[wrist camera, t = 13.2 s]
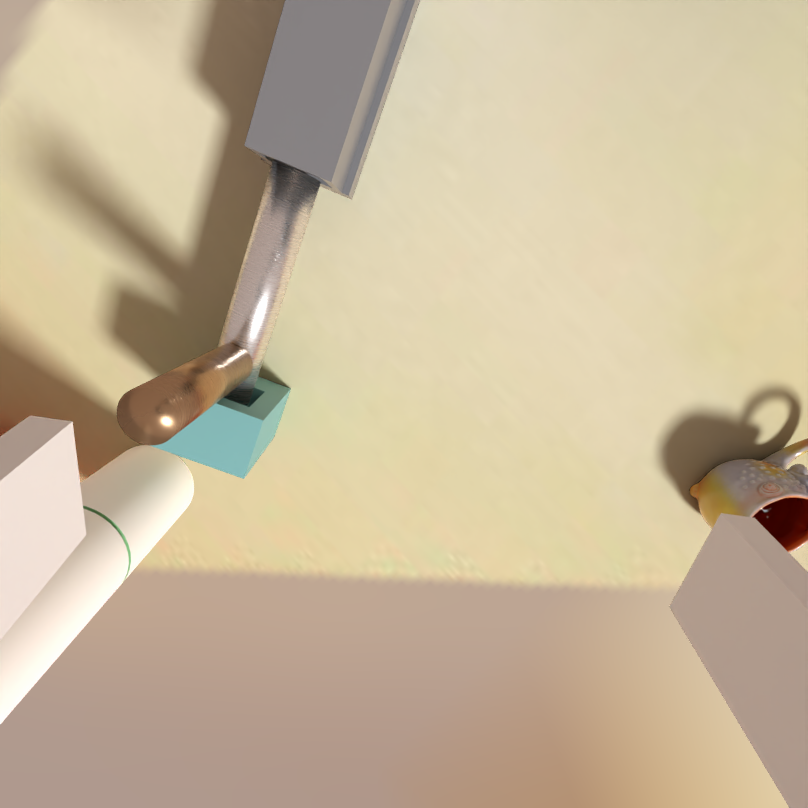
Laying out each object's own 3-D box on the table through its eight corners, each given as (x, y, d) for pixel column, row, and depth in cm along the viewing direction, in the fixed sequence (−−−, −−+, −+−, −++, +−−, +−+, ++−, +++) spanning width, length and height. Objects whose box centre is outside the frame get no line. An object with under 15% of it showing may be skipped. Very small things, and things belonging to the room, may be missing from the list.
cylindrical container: (94, 478, 44) (-274, 741, 20) (150, 428, 43) (-172, 646, 19) (155, 534, 46) (-119, 842, 22) (211, 488, 45) (-15, 759, 21)
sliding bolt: (324, 185, 35) (267, 134, 20) (247, 420, 39) (156, 516, 25) (279, 166, 34) (188, 100, 20) (207, 405, 39) (91, 493, 25)
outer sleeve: (422, -9, 34) (428, -81, 27) (351, 199, 38) (339, 185, 31) (333, -51, 34) (313, -137, 26) (269, 164, 37) (236, 142, 30)
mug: (717, 539, 46) (767, 585, 40) (673, 488, 45) (719, 527, 38) (836, 456, 44) (910, 490, 37) (795, 398, 42) (865, 424, 36)
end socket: (290, 388, 42) (263, 420, 34) (274, 436, 43) (243, 478, 35) (208, 357, 41) (160, 382, 33) (193, 407, 43) (143, 443, 34)
